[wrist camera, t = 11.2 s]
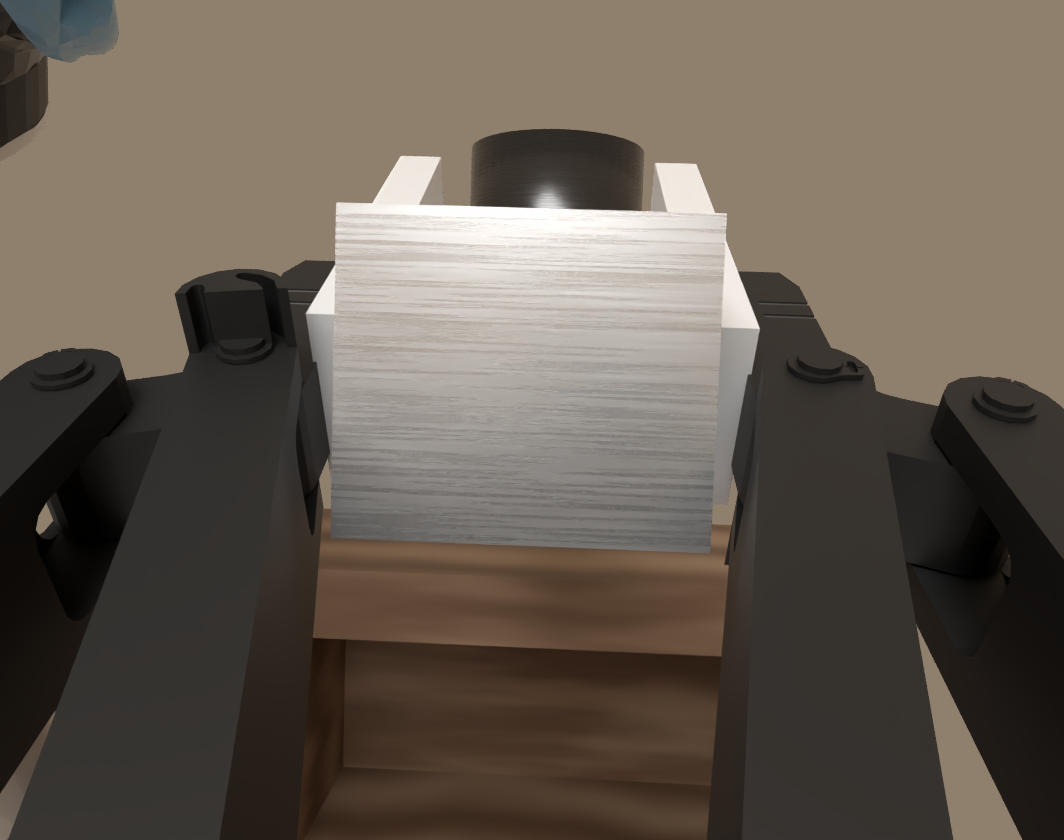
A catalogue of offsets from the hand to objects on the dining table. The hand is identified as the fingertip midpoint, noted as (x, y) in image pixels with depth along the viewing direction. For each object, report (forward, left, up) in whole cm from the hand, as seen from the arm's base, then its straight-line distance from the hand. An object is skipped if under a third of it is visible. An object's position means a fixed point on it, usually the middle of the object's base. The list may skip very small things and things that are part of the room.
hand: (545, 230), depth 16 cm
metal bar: (-4, +6, -4) cm, 9 cm away
